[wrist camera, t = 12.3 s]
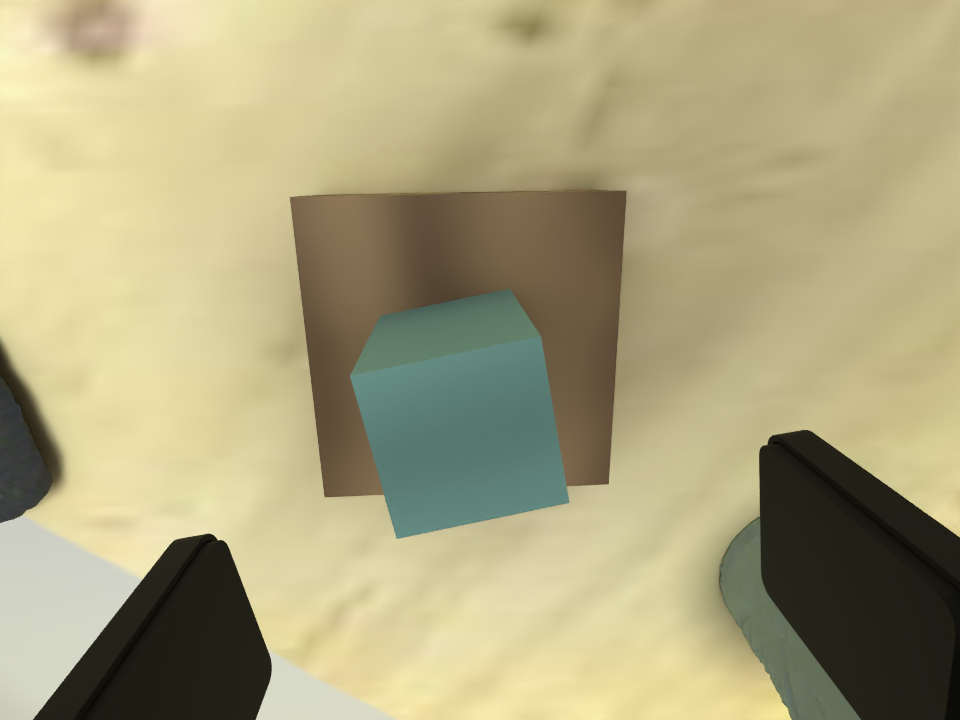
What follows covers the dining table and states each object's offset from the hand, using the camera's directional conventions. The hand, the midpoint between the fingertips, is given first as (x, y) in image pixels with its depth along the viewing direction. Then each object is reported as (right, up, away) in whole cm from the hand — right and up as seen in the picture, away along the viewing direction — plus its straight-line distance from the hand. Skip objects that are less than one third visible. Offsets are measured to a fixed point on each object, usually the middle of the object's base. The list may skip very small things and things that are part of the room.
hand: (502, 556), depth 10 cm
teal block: (-1, +3, +12) cm, 12 cm away
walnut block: (-1, +5, +17) cm, 18 cm away
